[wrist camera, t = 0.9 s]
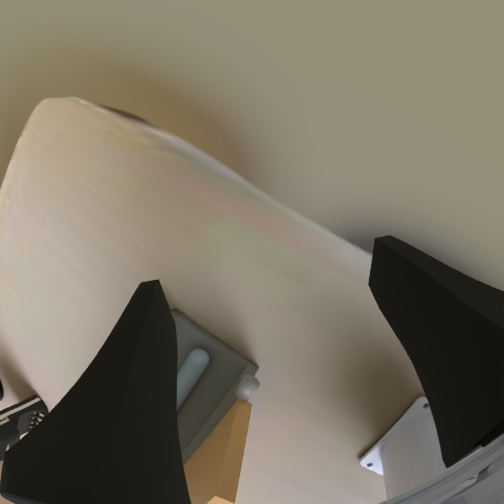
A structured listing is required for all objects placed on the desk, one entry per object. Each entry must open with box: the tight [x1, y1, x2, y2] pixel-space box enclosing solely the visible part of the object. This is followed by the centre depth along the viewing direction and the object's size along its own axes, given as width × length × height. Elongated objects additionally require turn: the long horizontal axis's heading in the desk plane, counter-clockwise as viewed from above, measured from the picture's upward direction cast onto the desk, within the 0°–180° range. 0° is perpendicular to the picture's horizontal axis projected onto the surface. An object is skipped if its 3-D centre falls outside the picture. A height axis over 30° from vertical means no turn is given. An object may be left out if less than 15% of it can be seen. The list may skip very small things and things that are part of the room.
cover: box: [183, 398, 252, 504], centre depth 17 cm, size 9×18×1 cm
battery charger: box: [0, 395, 48, 461], centre depth 25 cm, size 7×4×11 cm, turn 144°
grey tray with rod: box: [170, 309, 260, 466], centre depth 23 cm, size 9×21×4 cm, turn 149°
